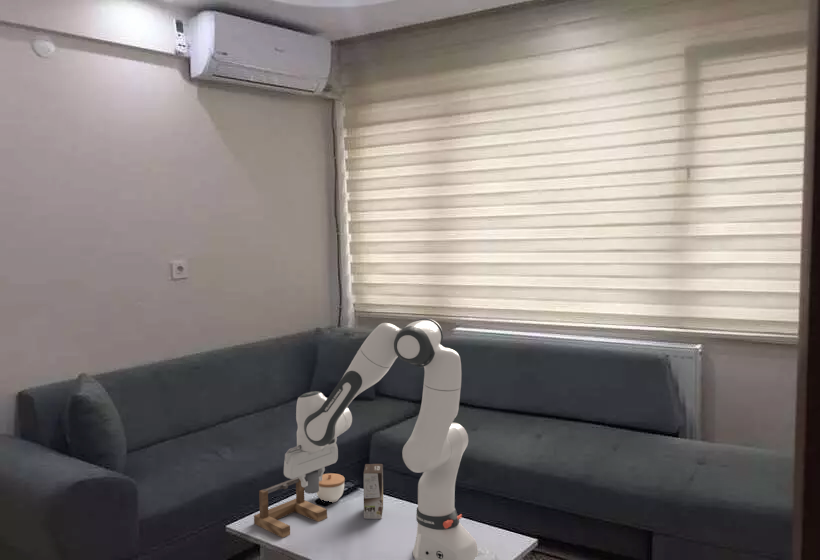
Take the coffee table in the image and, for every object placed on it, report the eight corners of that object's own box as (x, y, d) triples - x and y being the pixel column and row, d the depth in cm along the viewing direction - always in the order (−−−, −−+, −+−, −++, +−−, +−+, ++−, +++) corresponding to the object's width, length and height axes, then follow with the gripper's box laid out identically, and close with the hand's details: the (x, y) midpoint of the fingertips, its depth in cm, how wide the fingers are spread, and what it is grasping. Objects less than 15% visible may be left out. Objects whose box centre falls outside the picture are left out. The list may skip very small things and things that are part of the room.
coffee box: (382, 519, 233) (381, 473, 231) (363, 519, 233) (362, 473, 231) (383, 507, 242) (383, 463, 240) (365, 507, 242) (365, 463, 241)
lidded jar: (328, 508, 241) (328, 482, 241) (309, 499, 249) (308, 474, 248) (351, 499, 249) (350, 474, 248) (331, 491, 257) (331, 466, 256)
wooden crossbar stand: (327, 517, 234) (326, 483, 233) (282, 537, 220) (282, 501, 218) (298, 505, 244) (297, 472, 242) (254, 524, 229) (253, 489, 228)
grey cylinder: (322, 490, 222) (321, 472, 221) (311, 494, 218) (310, 476, 218) (312, 486, 225) (312, 468, 224) (301, 491, 221) (301, 472, 221)
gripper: (291, 452, 210) (292, 496, 212) (340, 436, 226) (341, 476, 227) (278, 448, 214) (279, 491, 216) (327, 432, 230) (328, 472, 231)
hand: (311, 483), depth 221 cm, fingers closed on grey cylinder, 5 cm apart
